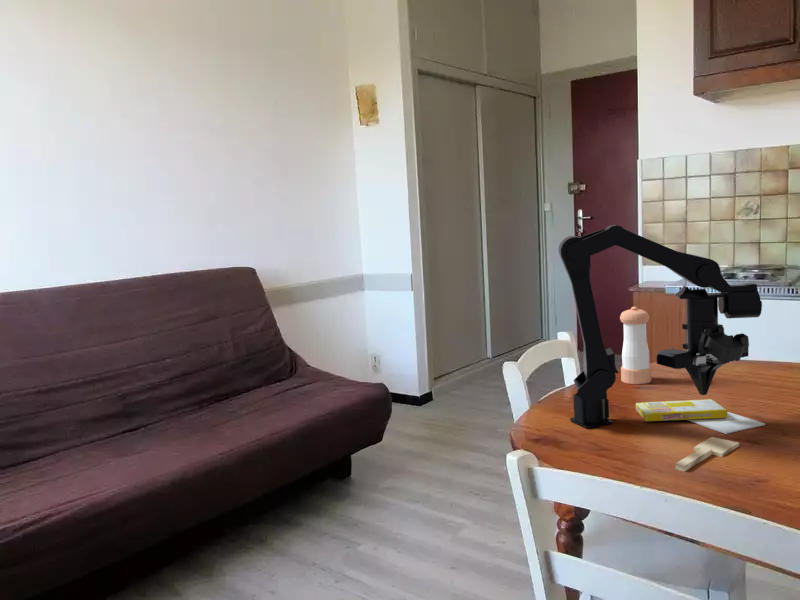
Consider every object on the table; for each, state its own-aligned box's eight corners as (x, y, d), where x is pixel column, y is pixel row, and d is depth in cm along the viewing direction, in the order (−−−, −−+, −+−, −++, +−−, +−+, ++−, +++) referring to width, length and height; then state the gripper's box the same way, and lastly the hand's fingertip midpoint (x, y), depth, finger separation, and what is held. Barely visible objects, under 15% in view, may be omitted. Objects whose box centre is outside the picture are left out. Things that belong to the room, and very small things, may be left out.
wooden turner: (694, 474, 109) (694, 468, 108) (666, 466, 112) (665, 461, 112) (739, 445, 119) (739, 440, 119) (711, 439, 123) (711, 434, 123)
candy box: (728, 420, 132) (712, 406, 140) (728, 409, 132) (712, 397, 140) (645, 423, 134) (635, 410, 142) (645, 413, 134) (635, 400, 142)
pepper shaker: (630, 375, 172) (628, 304, 169) (656, 379, 166) (654, 305, 164) (615, 381, 167) (613, 308, 164) (642, 385, 162) (640, 309, 159)
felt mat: (725, 434, 125) (725, 432, 125) (665, 412, 140) (665, 411, 140) (764, 424, 129) (764, 423, 129) (702, 404, 144) (702, 403, 144)
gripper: (696, 331, 120) (697, 412, 122) (771, 318, 126) (771, 396, 128) (653, 323, 131) (655, 398, 133) (725, 312, 137) (726, 384, 139)
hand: (703, 394), depth 133 cm, fingers closed
